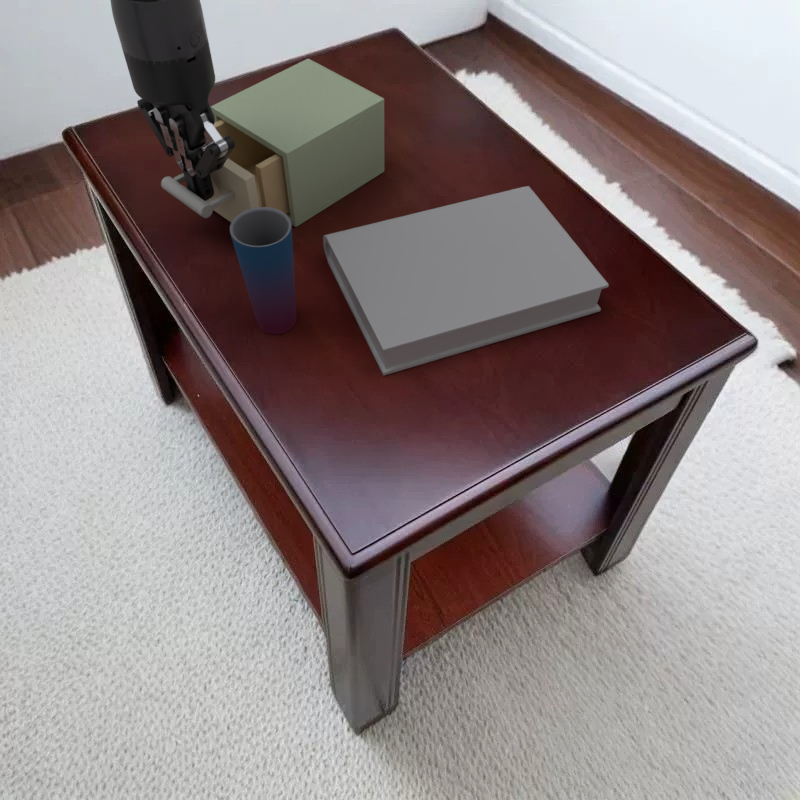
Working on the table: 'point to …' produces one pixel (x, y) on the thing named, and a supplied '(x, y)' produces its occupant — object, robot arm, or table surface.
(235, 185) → the drawer
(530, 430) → the table surface
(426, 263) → the book
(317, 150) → the cabinet
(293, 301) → the cup
